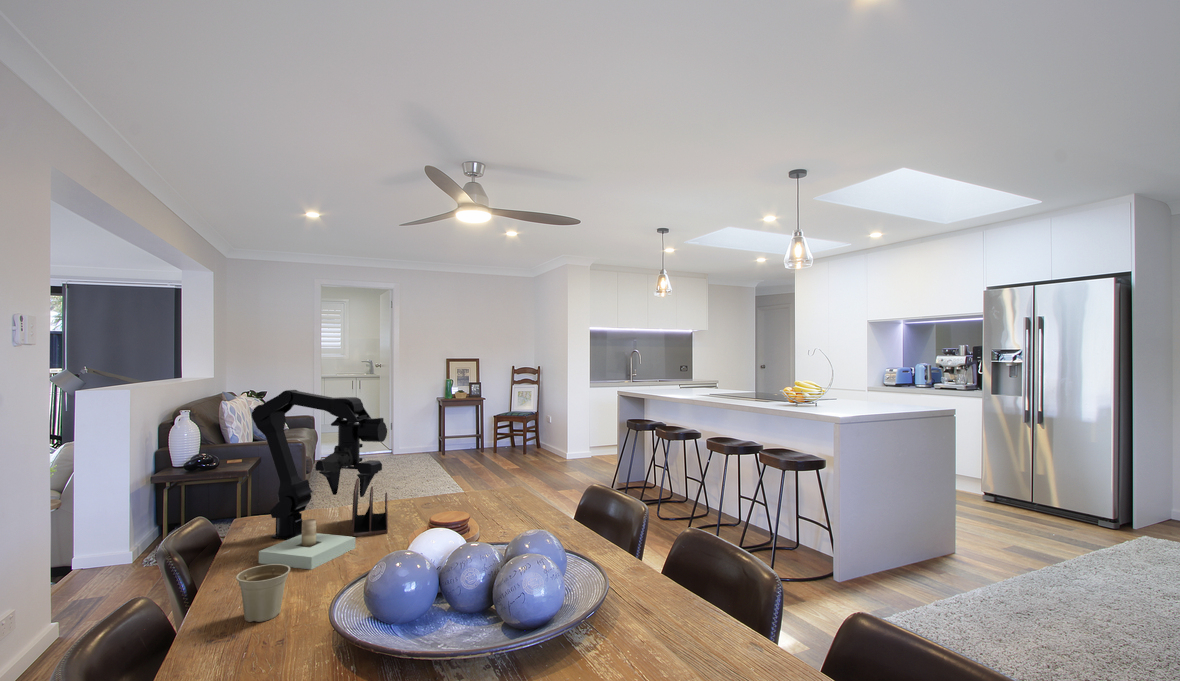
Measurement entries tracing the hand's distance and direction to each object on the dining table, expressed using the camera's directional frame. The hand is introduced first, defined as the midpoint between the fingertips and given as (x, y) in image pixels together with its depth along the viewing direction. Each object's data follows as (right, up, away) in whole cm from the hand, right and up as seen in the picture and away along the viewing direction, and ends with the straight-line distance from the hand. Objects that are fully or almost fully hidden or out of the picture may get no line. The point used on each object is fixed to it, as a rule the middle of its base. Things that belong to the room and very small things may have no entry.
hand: (348, 495), depth 162 cm
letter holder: (+2, -13, +11) cm, 17 cm away
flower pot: (+4, -11, -49) cm, 50 cm away
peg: (-4, -12, -15) cm, 19 cm away
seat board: (-4, -12, -15) cm, 19 cm away
